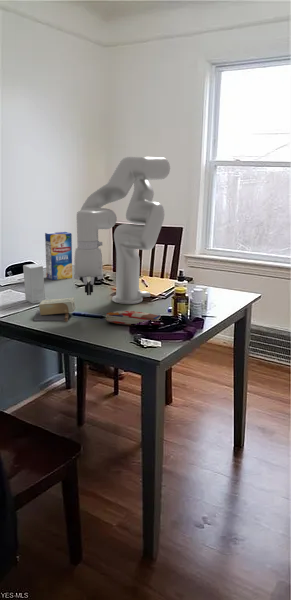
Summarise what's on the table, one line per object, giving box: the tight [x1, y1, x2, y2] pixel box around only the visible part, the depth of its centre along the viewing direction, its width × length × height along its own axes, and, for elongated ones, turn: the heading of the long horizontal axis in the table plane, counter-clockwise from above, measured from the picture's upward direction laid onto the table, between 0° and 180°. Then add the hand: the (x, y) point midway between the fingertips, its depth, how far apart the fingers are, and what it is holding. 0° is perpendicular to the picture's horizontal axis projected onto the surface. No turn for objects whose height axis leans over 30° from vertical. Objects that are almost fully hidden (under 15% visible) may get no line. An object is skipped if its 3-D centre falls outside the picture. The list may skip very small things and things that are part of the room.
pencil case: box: [105, 310, 162, 326], centre depth 172 cm, size 11×20×5 cm, turn 67°
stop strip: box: [64, 313, 70, 323], centre depth 180 cm, size 1×14×2 cm, turn 6°
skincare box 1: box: [22, 263, 46, 305], centre depth 197 cm, size 8×6×15 cm
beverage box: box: [44, 231, 73, 281], centre depth 238 cm, size 7×11×22 cm, turn 123°
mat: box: [33, 309, 65, 322], centre depth 180 cm, size 11×12×1 cm
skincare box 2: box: [38, 297, 76, 315], centre depth 180 cm, size 6×4×12 cm
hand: (89, 294), depth 180 cm, fingers closed
